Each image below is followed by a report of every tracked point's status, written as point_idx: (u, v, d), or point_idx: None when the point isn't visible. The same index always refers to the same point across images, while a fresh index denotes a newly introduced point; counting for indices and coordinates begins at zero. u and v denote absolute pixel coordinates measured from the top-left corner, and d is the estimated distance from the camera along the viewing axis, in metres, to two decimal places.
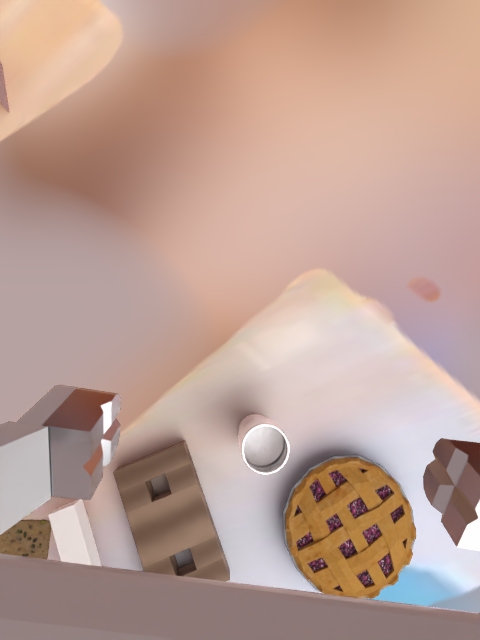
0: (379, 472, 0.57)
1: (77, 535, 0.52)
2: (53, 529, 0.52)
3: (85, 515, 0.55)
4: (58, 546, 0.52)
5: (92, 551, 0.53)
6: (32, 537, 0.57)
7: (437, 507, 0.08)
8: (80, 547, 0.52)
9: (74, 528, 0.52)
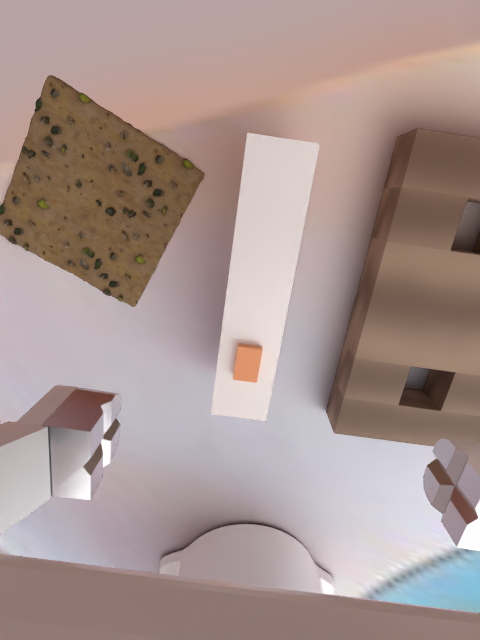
0: None
1: (291, 224, 0.20)
2: (245, 178, 0.19)
3: None
4: (238, 224, 0.20)
5: None
6: (156, 184, 0.24)
7: (437, 507, 0.08)
8: (284, 254, 0.21)
9: (292, 204, 0.20)
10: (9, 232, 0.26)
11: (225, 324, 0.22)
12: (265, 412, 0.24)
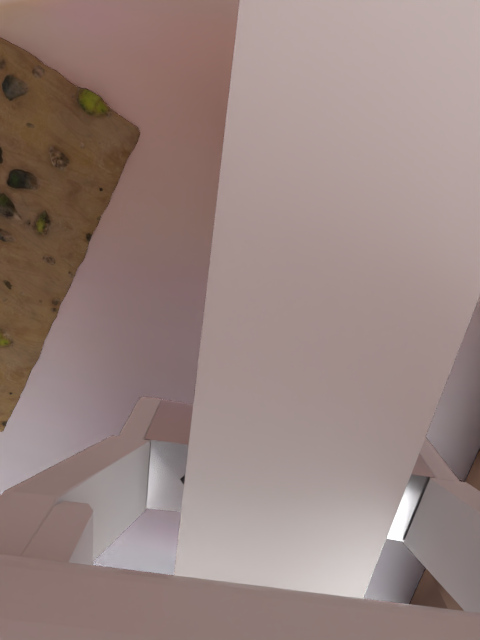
0: None
1: (427, 294, 0.05)
2: (247, 101, 0.04)
3: None
4: (220, 291, 0.05)
5: None
6: (12, 156, 0.09)
7: None
8: (389, 396, 0.06)
9: (443, 215, 0.05)
10: None
11: None
12: None
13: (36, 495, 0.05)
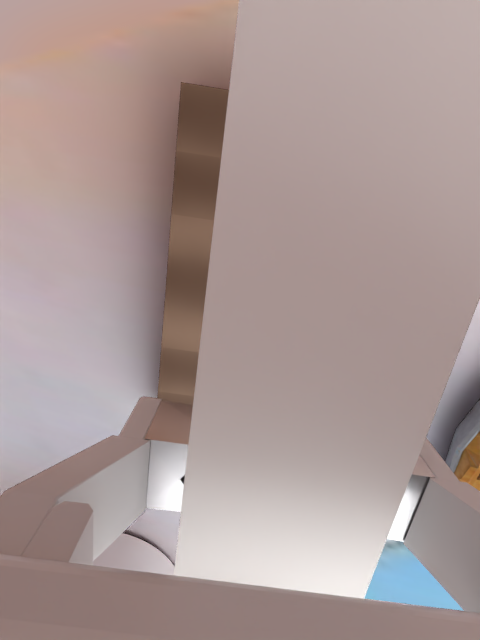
0: None
1: (429, 288, 0.05)
2: (247, 92, 0.04)
3: None
4: (221, 286, 0.05)
5: None
6: None
7: None
8: (391, 392, 0.06)
9: (446, 208, 0.05)
10: None
11: None
12: None
13: (36, 494, 0.05)
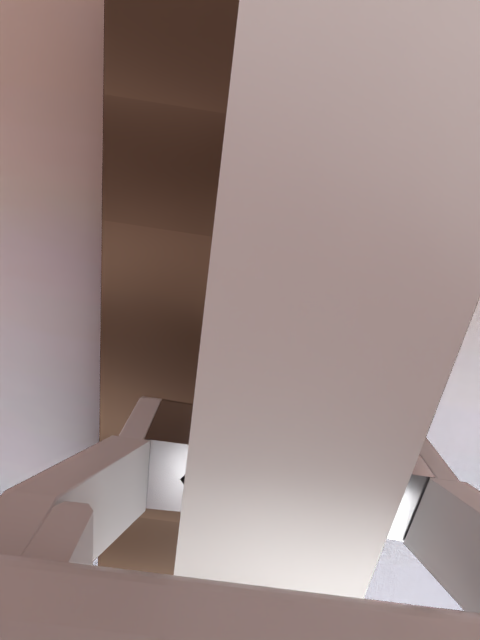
0: None
1: (429, 287, 0.05)
2: (247, 90, 0.04)
3: None
4: (221, 284, 0.05)
5: None
6: None
7: None
8: (391, 391, 0.06)
9: (446, 207, 0.05)
10: None
11: None
12: None
13: (36, 494, 0.05)
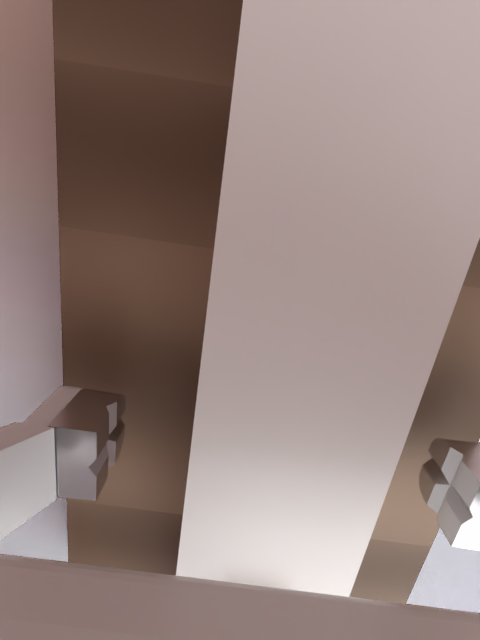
0: None
1: (414, 282, 0.06)
2: (247, 104, 0.05)
3: None
4: (223, 280, 0.06)
5: None
6: None
7: (432, 506, 0.08)
8: (380, 379, 0.06)
9: (428, 209, 0.05)
10: None
11: (185, 558, 0.08)
12: None
13: None
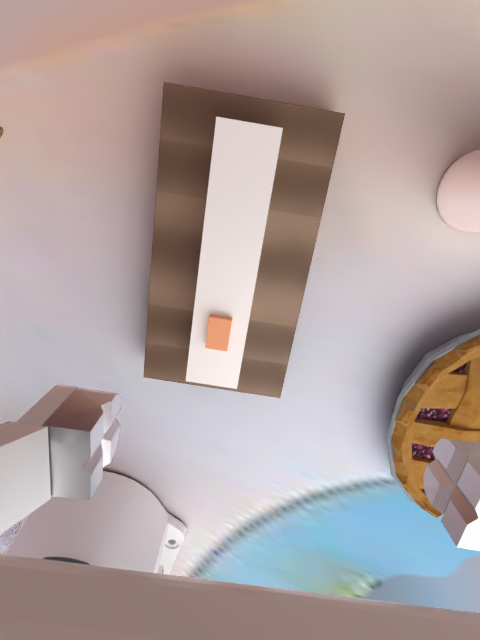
0: None
1: (257, 203, 0.22)
2: (215, 159, 0.21)
3: None
4: (209, 201, 0.22)
5: None
6: None
7: (437, 507, 0.08)
8: (251, 231, 0.23)
9: (258, 184, 0.22)
10: None
11: (197, 296, 0.24)
12: (236, 380, 0.26)
13: None
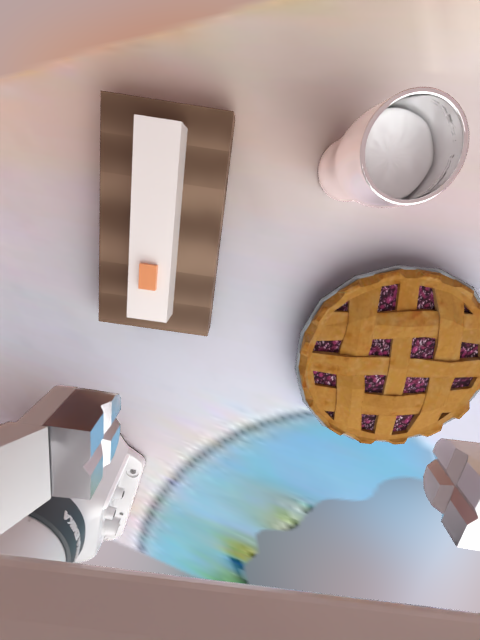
0: None
1: (168, 176, 0.30)
2: (135, 145, 0.29)
3: (184, 159, 0.32)
4: (134, 176, 0.30)
5: (177, 216, 0.33)
6: None
7: (437, 507, 0.08)
8: (166, 197, 0.31)
9: (168, 162, 0.30)
10: None
11: (131, 248, 0.32)
12: (165, 315, 0.34)
13: None
